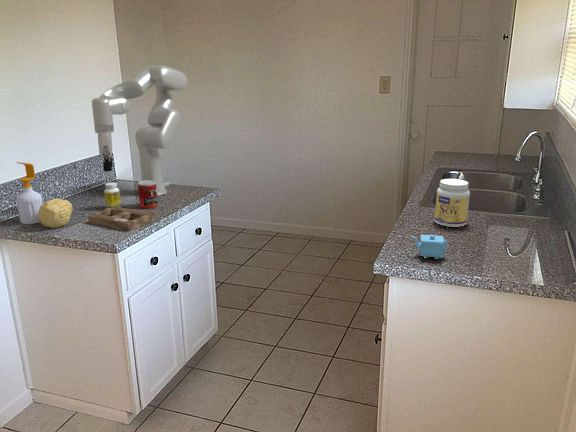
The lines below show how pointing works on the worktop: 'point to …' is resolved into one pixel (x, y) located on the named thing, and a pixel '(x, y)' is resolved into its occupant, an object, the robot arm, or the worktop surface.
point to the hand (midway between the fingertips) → (108, 168)
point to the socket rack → (121, 218)
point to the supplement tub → (452, 203)
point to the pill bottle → (112, 195)
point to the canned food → (147, 194)
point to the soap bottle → (29, 198)
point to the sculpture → (55, 213)
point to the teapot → (431, 246)
